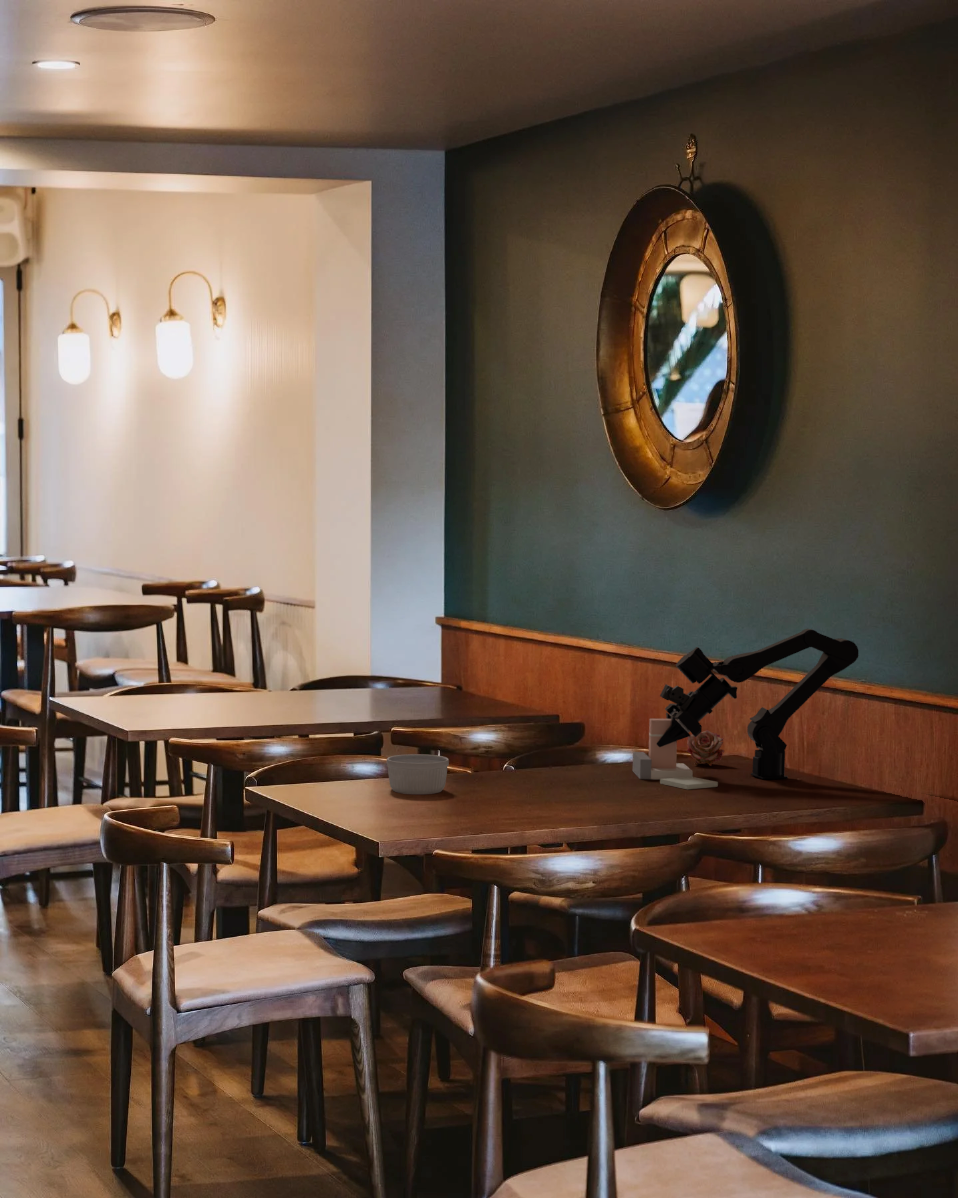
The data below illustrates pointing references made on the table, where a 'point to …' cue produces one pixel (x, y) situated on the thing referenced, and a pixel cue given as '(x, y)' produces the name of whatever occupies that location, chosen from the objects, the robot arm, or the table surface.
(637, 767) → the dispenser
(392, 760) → the ramekin
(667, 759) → the banded beige post
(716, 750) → the flower
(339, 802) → the table surface
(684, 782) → the pad
